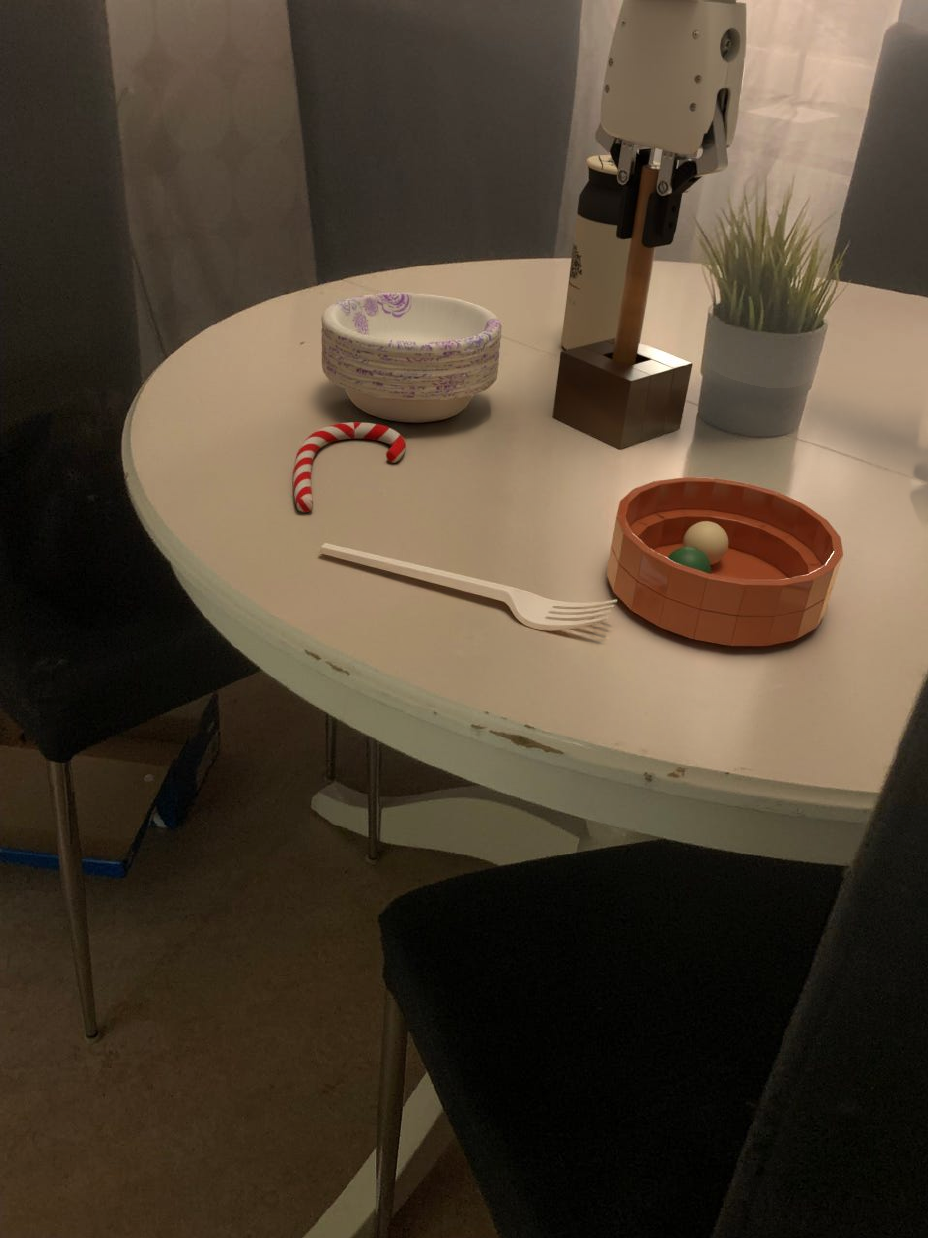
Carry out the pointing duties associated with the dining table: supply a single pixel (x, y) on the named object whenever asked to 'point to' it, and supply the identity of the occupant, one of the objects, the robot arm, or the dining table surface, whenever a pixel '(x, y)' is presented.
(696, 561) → the green bead
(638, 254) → the stick
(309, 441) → the candy cane
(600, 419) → the holder
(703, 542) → the cream bead
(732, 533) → the bowl
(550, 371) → the dining table surface
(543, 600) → the fork
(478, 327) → the paper bowls
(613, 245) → the travel mug
